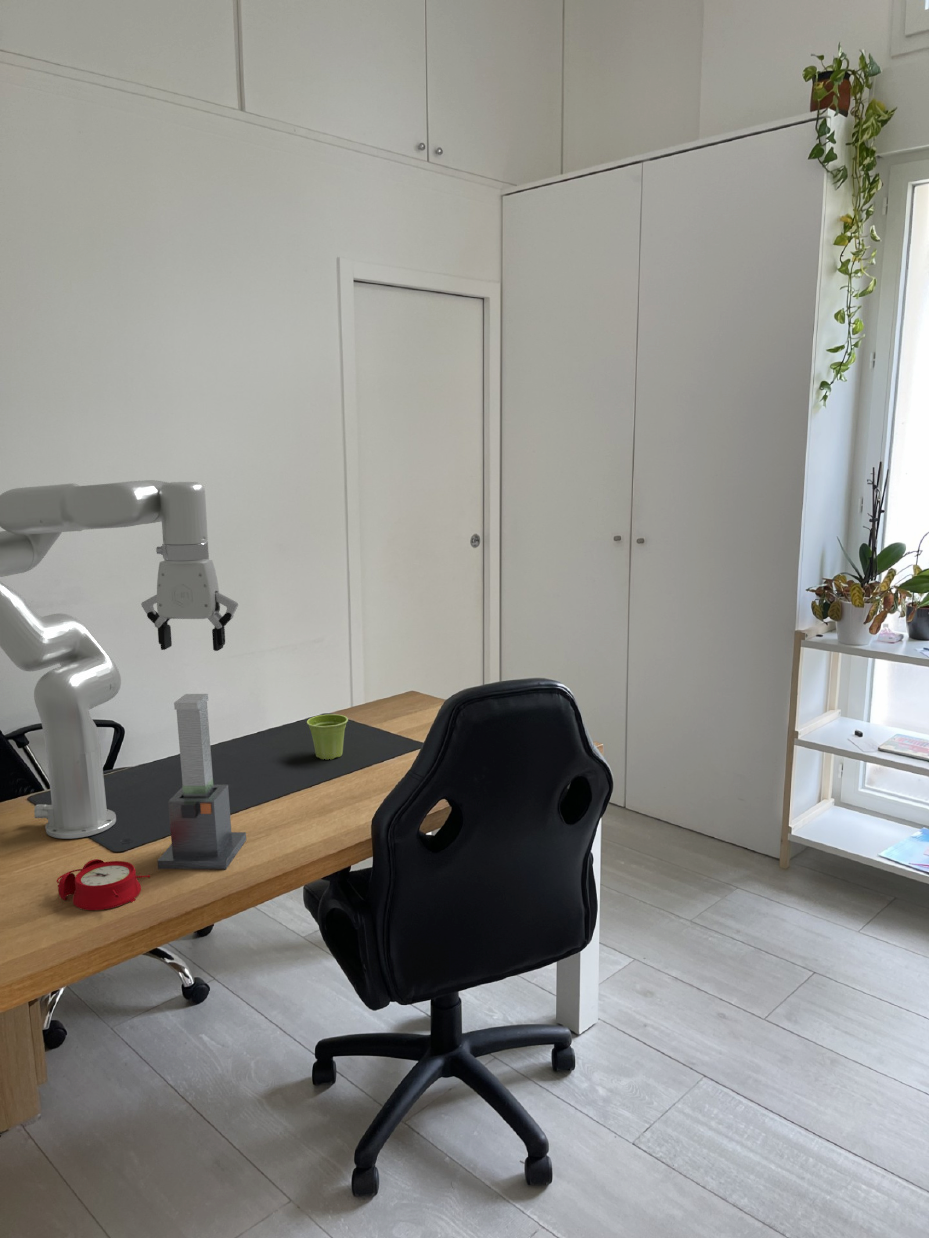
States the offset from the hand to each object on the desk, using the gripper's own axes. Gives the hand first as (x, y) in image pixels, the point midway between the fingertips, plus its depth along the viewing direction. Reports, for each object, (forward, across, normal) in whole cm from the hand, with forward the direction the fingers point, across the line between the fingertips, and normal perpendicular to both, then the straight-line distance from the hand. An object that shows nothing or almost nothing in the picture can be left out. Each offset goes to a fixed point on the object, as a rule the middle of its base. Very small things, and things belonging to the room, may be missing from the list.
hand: (192, 648), depth 167 cm
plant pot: (+36, +12, +47) cm, 60 cm away
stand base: (+36, +2, -7) cm, 37 cm away
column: (+28, +2, -7) cm, 29 cm away
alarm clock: (+37, -9, -22) cm, 44 cm away
